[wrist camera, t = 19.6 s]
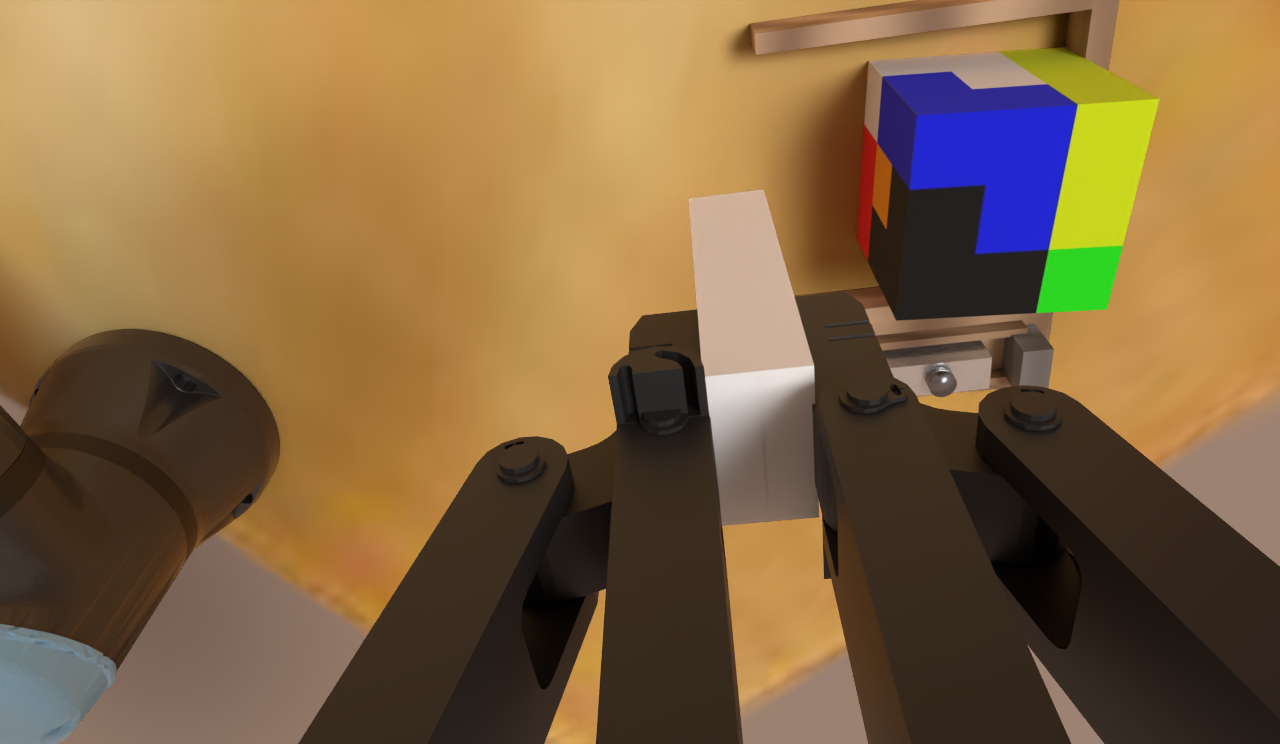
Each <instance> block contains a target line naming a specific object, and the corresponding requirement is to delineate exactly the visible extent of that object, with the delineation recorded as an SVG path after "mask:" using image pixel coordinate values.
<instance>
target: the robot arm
mask: <svg viewBox="0 0 1280 744" xmlns="http://www.w3.org/2000/svg"><path fill="white" fill-rule="evenodd" d="M689 210H690V223H691V236H692V248H693V261H694V274H695V287H696V299H697V310H689V311H680V312H671V313H662V314H653V315H644V316H642V317H641V318H640V319H639V321H638V322H637V323H636V325H635V326H634V327H633V328H632V330H631V331H630V340H629V355H626V356H624V357H623V358H621V359H620V360H619V361H618V362H617V363H616V364H614V365H613V366H612V368H611V371H610V373H609V375H608V379H609V384H610V390H611V395H612V400H613V406H614V411H615V416H616V422H617V430H616V431H615V432H614V433H613V434H612V435H611V436H610V437H608V438H606V439H605V440H603V441H602V442H600V443H598V444H596V445H593V446H591V447H588V448H586V449H583V450H580V451H576V452H573V453H570V454H567V453H566V451H565V449H564V447H563V446H562V445H560V444H559V443H557V442H556V441H554V440H553V439H548V438H543V437H538V436H536V437H522V438H517V439H514V440H511V441H508V442H504V443H502V444H500V445H498V446H497V447H495V448H493V449H492V450H490V451H488V452H487V453H486V454H485V455H484V456H483V457H482V458H481V459H480V460H479V461H478V463H477V464H476V465H475V467H474V469H473V470H472V472H471V473H470V475H469V476H468V478H467V480H466V481H465V483H464V484H463V486H462V487H461V489H460V491H459V492H458V494H457V495H456V497H455V498H454V500H453V502H452V503H451V505H450V506H449V508H448V509H447V511H446V513H445V514H444V516H443V517H442V519H441V520H440V522H439V524H438V525H437V527H436V528H435V530H434V531H433V533H432V535H431V536H430V538H429V539H428V541H427V542H426V544H425V546H424V547H423V549H422V550H421V552H420V553H419V555H418V557H417V558H416V560H415V561H414V563H413V564H412V566H411V568H410V569H409V571H408V572H407V574H406V575H405V577H404V579H403V580H402V582H401V583H400V585H399V586H398V588H397V590H396V591H395V593H394V594H393V596H392V597H391V599H390V601H389V602H388V604H387V605H386V607H385V608H384V610H383V612H382V613H381V615H380V616H379V618H378V619H377V621H376V623H375V624H374V626H373V627H372V629H371V630H370V632H369V634H368V635H367V637H366V638H365V640H364V642H363V643H362V645H361V646H360V648H359V649H358V651H357V652H356V654H355V656H354V657H353V659H352V660H351V662H350V663H349V665H348V667H347V668H346V670H345V671H344V673H343V674H342V676H341V677H340V679H339V681H338V682H337V684H336V686H335V687H334V689H333V691H332V692H331V693H330V695H329V696H328V698H327V699H326V701H325V703H324V704H323V706H322V708H321V709H320V710H319V712H318V714H317V715H316V717H315V718H314V720H313V721H312V723H311V725H310V726H309V728H308V729H307V731H306V733H305V734H304V736H303V737H302V739H301V740H300V742H299V744H544V743H545V740H546V737H547V735H548V732H549V730H550V727H551V724H552V722H553V719H554V716H555V714H556V711H557V709H558V706H559V703H560V701H561V698H562V695H563V693H564V690H565V687H566V685H567V682H568V680H569V677H570V674H571V672H572V669H573V666H574V664H575V661H576V659H577V656H578V653H579V651H580V648H581V645H582V643H583V640H584V638H585V635H586V632H587V630H588V627H589V624H590V622H591V619H592V616H593V614H594V611H595V609H596V606H597V602H598V595H599V591H600V590H603V589H606V600H605V615H604V630H603V646H602V661H601V676H600V691H599V706H598V722H597V737H596V744H743V738H742V728H741V717H740V706H739V696H738V685H737V675H736V664H735V653H734V643H733V632H732V622H731V611H730V600H729V590H728V579H727V569H726V558H725V548H724V539H723V530H722V526H724V525H735V524H747V523H758V522H770V521H781V520H792V519H804V518H815V517H819V504H818V498H819V503H820V507H821V511H822V522H823V556H824V579H830V578H831V579H832V584H833V588H834V592H835V597H836V601H837V606H838V610H839V615H840V619H841V624H842V628H843V632H844V637H845V641H846V646H847V650H848V655H849V659H850V663H851V668H852V672H853V677H854V681H855V685H856V690H857V695H858V699H859V704H860V708H861V712H862V717H863V721H864V726H865V730H866V735H867V739H868V744H1071V742H1070V740H1069V737H1068V735H1067V733H1066V731H1065V729H1064V726H1063V724H1062V722H1061V720H1060V717H1059V715H1058V713H1057V711H1056V708H1055V706H1054V704H1053V702H1052V700H1051V697H1050V695H1049V693H1048V690H1047V688H1046V686H1045V684H1044V681H1043V679H1042V677H1041V675H1040V673H1039V670H1038V668H1037V666H1036V663H1035V661H1034V659H1033V657H1032V654H1031V652H1030V650H1029V648H1028V645H1029V647H1030V648H1031V650H1032V651H1033V652H1034V653H1035V655H1036V656H1037V657H1038V658H1039V660H1040V661H1041V662H1042V664H1043V665H1044V666H1045V667H1046V669H1047V670H1048V671H1049V673H1050V674H1051V675H1052V677H1053V678H1054V679H1055V681H1056V682H1057V683H1058V684H1059V686H1060V687H1061V688H1062V690H1063V691H1064V692H1065V693H1066V695H1067V696H1068V697H1069V699H1070V700H1071V701H1072V702H1073V704H1074V705H1075V706H1076V708H1077V709H1078V710H1079V711H1080V713H1081V714H1082V715H1083V717H1084V718H1085V719H1086V720H1087V722H1088V723H1089V724H1090V726H1091V727H1092V728H1093V729H1094V731H1095V732H1096V733H1097V735H1098V736H1099V737H1100V738H1101V740H1102V741H1103V742H1104V744H1280V566H1278V565H1277V564H1276V563H1275V562H1273V561H1272V560H1271V559H1269V557H1267V556H1266V555H1265V554H1264V553H1262V552H1261V551H1260V550H1259V549H1258V548H1256V547H1255V546H1254V545H1253V544H1251V543H1250V542H1249V541H1248V540H1247V539H1245V538H1244V537H1243V536H1242V535H1240V534H1239V533H1238V532H1237V531H1236V530H1234V529H1233V528H1232V527H1231V526H1229V525H1228V524H1227V523H1226V522H1225V521H1223V520H1222V519H1221V518H1220V517H1218V516H1217V515H1216V514H1215V513H1214V512H1212V511H1211V510H1210V509H1209V508H1207V507H1206V506H1205V505H1204V504H1202V503H1201V502H1200V501H1199V500H1198V499H1197V498H1195V497H1194V496H1193V495H1192V494H1190V493H1189V492H1188V491H1187V490H1185V489H1184V488H1183V487H1182V486H1181V485H1179V484H1178V483H1177V482H1176V481H1175V480H1173V479H1172V478H1171V477H1170V476H1168V475H1167V474H1166V473H1165V472H1164V471H1162V470H1161V469H1160V468H1159V467H1157V466H1156V465H1155V464H1154V463H1153V462H1151V461H1150V460H1149V459H1148V458H1147V457H1145V456H1144V455H1143V454H1142V453H1140V452H1139V451H1138V450H1137V449H1136V448H1134V447H1133V446H1132V445H1131V444H1129V443H1128V442H1127V441H1126V440H1125V439H1123V438H1122V437H1121V436H1120V435H1118V434H1117V433H1116V432H1115V431H1114V430H1112V429H1111V428H1110V427H1109V426H1107V425H1106V424H1105V423H1104V422H1103V421H1101V420H1100V419H1099V418H1098V417H1096V416H1095V415H1094V414H1093V413H1092V412H1090V411H1089V410H1088V409H1087V408H1085V407H1084V406H1083V405H1082V404H1081V403H1079V402H1078V401H1076V400H1075V399H1073V398H1071V397H1069V396H1068V395H1066V394H1064V393H1062V392H1059V391H1055V390H1052V389H1048V388H1045V387H1038V386H1026V385H1020V386H1012V387H1004V388H1001V389H999V390H996V391H994V392H991V393H989V394H988V395H987V396H986V397H985V398H984V399H983V400H982V401H981V402H980V403H979V413H969V412H959V411H950V410H944V409H938V408H933V407H930V406H927V405H924V404H921V403H919V401H918V399H917V396H916V394H915V393H914V392H913V391H912V389H911V388H910V387H909V386H908V385H907V384H906V383H904V382H902V381H900V380H898V379H896V378H894V377H893V374H892V372H891V370H890V367H889V365H888V362H887V360H886V358H885V355H884V353H883V351H882V348H881V346H880V344H879V341H878V339H877V337H875V332H874V330H873V327H872V325H871V323H870V321H869V318H868V315H867V313H866V311H865V308H864V306H863V304H862V303H861V302H859V301H858V300H856V299H855V298H853V297H852V296H851V295H849V294H848V293H846V292H845V291H841V292H832V293H823V294H814V295H805V296H796V297H794V294H793V290H792V287H791V283H790V280H789V276H788V273H787V269H786V266H785V262H784V259H783V255H782V252H781V248H780V245H779V241H778V238H777V234H776V231H775V227H774V224H773V220H772V217H771V213H770V210H769V207H768V203H767V200H766V196H765V193H764V189H763V190H755V191H747V192H738V193H730V194H722V195H714V196H706V197H698V198H689ZM279 451H280V442H279V434H278V430H277V426H276V423H275V420H274V418H273V415H272V413H271V411H270V409H269V407H268V406H267V404H266V402H265V401H264V399H263V398H262V396H261V395H260V394H259V392H258V391H257V390H256V389H255V387H254V386H253V385H252V384H251V383H250V382H249V381H248V380H247V379H246V378H245V377H244V376H243V375H242V374H241V373H240V372H239V371H237V370H236V369H235V368H234V367H233V366H231V365H230V364H229V363H227V362H226V361H224V360H223V359H221V358H220V357H218V356H217V355H215V354H213V353H212V352H210V351H208V350H206V349H204V348H202V347H200V346H198V345H196V344H194V343H191V342H189V341H186V340H183V339H181V338H178V337H174V336H171V335H167V334H163V333H159V332H153V331H145V330H114V331H108V332H103V333H99V334H96V335H93V336H90V337H88V338H86V339H84V340H82V341H80V342H78V343H77V344H75V345H74V346H72V347H71V348H70V349H69V350H67V351H66V352H65V353H64V354H63V355H62V356H61V357H60V358H58V359H57V360H56V361H55V362H54V363H53V364H52V365H51V366H50V367H49V368H48V369H47V370H46V371H45V372H44V374H43V375H42V376H41V378H40V379H39V381H38V383H37V384H36V387H35V389H34V391H33V395H32V397H31V400H30V405H29V409H28V411H27V413H26V415H25V417H24V419H23V421H22V424H21V426H19V425H18V424H17V423H16V422H15V421H14V420H13V418H12V417H11V416H10V415H9V414H8V413H7V412H6V411H5V410H4V409H3V408H2V407H1V405H0V744H60V743H61V742H62V741H64V740H65V739H66V738H67V737H68V736H69V735H70V734H71V733H72V732H73V731H74V730H75V729H76V727H77V726H78V725H79V723H80V722H81V721H82V719H83V718H84V717H85V716H86V714H87V713H88V712H89V710H90V709H91V708H92V706H93V705H94V704H95V703H96V701H97V700H98V699H99V697H100V696H101V694H102V693H103V692H104V691H105V690H106V689H108V688H109V687H110V685H111V684H112V683H113V682H114V680H115V678H116V674H117V672H118V671H117V670H118V668H119V667H120V665H121V664H122V662H123V661H124V659H125V657H126V656H127V654H128V653H129V651H130V649H131V648H132V646H133V645H134V643H135V641H136V640H137V638H138V636H139V635H140V634H141V632H142V630H143V629H144V627H145V626H146V624H147V622H148V621H149V619H150V618H151V616H152V615H153V613H154V611H155V610H156V608H157V607H158V605H159V603H160V602H161V600H162V599H163V597H164V596H165V594H166V592H167V591H168V589H169V588H170V586H171V584H172V583H173V581H174V580H175V578H176V577H177V575H178V573H179V572H180V570H181V569H182V567H183V565H184V563H185V562H186V560H187V559H188V557H189V556H190V555H191V553H192V551H193V550H194V549H195V548H197V547H198V546H199V545H201V544H202V543H203V542H205V541H206V540H207V539H209V538H210V537H211V536H213V535H214V534H216V533H217V532H218V531H220V530H221V529H222V528H224V527H225V526H227V525H228V524H229V523H231V522H232V521H233V520H234V519H236V518H237V517H239V516H240V515H241V514H243V513H244V512H245V511H247V510H248V509H249V508H250V507H251V506H252V505H253V504H254V503H255V501H256V500H257V499H258V498H259V496H260V495H261V493H262V492H263V490H264V488H265V487H266V485H267V483H268V482H269V480H270V478H271V477H272V475H273V473H274V471H275V469H276V466H277V463H278V459H279ZM1027 644H1028V645H1027Z"/></svg>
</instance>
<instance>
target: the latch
mask: <svg viewBox="0 0 1280 744" xmlns="http://www.w3.org/2000/svg"><path fill="white" fill-rule="evenodd" d="M882 351H883V353H884V355H885V358H886V360H887V362H888V365H889V367H890V370H891V372H892V374H893V377H894V378H896V379H898V380H900V381H902V382H904V383H906V384H907V385H908V386H909V387H910V388H911V389H912V391H913V392H914V393H915V394H916V396H917V395H928V394H933V395H935V396H938V397H944V396H948V395H950V394H951V393H952V392H958V391H968V390H978V389H988V388H989V384H990V374H991V364H992V357H991V355H990V353H989V352H988V350H987V349H986V347H985V345H984V344H983V342H982V341H981V340H978V341H968V342H959V343H949V344H940V345H930V346H920V347H911V348H901V349H892V350H882Z"/></svg>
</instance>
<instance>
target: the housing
mask: <svg viewBox="0 0 1280 744" xmlns="http://www.w3.org/2000/svg"><path fill="white" fill-rule="evenodd" d="M1118 5H1119V0H917V1H909V2H902V3H895V4H888V5H881V6H874V7H866V8H859V9H852V10H845V11H838V12H831V13H824V14H816V15H809V16H802V17H795V18H788V19H781V20H774V21H766V22H759V23H752V24H750V32H751V45H752V47H753V49H754V52H755V54H756V55H760V54H767V53H774V52H782V51H789V50H796V49H804V48H811V47H818V46H826V45H833V44H840V43H848V42H855V41H862V40H870V39H877V38H884V37H892V36H899V35H906V34H914V33H921V32H928V31H936V30H943V29H950V28H958V27H965V26H972V25H980V24H987V23H994V22H1001V21H1009V20H1016V19H1023V18H1031V17H1038V16H1045V15H1053V14H1060V13H1067V12H1069V20H1068V28H1067V36H1066V44H1065V48H1067V49H1069V50H1071V51H1073V52H1075V53H1076V54H1078V55H1080V56H1082V57H1084V58H1086V59H1087V60H1089V61H1091V62H1093V63H1095V64H1097V65H1098V66H1100V67H1102V68H1104V69H1106V70H1109V64H1110V57H1111V51H1112V44H1113V38H1114V31H1115V25H1116V18H1117V11H1118ZM836 292H841V291H836ZM845 292H846V293H848V294H849V295H851V296H852V297H853V298H855V299H856V300H858V301H859V302H861V303H862V304H863V306H864V308H865V311H866V313H867V315H868V318H869V321H870V323H871V325H872V327H873V330H874V332H875V337H877V339H878V341H879V344H880V346H881V348H882V350H892V349H901V348H911V347H920V346H930V345H940V344H949V343H959V342H968V341H978V340H981V341H982V342H983V344H984V345H985V347H986V349H987V350H988V352H989V353H990V355H991V357H992V364H991V374H990V384H989V388H988V389H978V390H968V391H958V392H952V393H961V392H971V391H981V390H991V389H1001V388H1004V387H1012V386H1020V385H1026V386H1038V387H1045V388H1048V386H1049V379H1050V372H1051V365H1052V358H1053V351H1054V349H1053V347H1052V346H1051V345H1050V343H1049V337H1050V330H1051V323H1052V316H1053V312H1048V313H1029V314H1010V315H992V316H973V317H955V318H936V319H918V320H899V321H896V319H895V317H894V315H893V313H892V311H891V309H890V307H889V305H888V303H887V301H886V299H885V296H884V294H883V292H882V290H881V288H880V287H872V288H863V289H854V290H845ZM827 293H832V292H827ZM818 294H823V293H818ZM809 295H814V294H809ZM800 296H805V295H800ZM794 297H796V296H794ZM930 395H933V394H928V395H917V397H920V396H930Z"/></svg>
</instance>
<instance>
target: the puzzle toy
mask: <svg viewBox="0 0 1280 744" xmlns="http://www.w3.org/2000/svg"><path fill="white" fill-rule="evenodd" d="M1158 103H1159V98H1157V97H1155V96H1153V95H1151V94H1150V93H1148V92H1146V91H1144V90H1142V89H1140V88H1139V87H1137V86H1135V85H1133V84H1131V83H1129V82H1128V81H1126V80H1124V79H1122V78H1120V77H1118V76H1117V75H1115V74H1113V73H1111V72H1109V71H1108V70H1106V69H1104V68H1102V67H1100V66H1098V65H1097V64H1095V63H1093V62H1091V61H1089V60H1087V59H1086V58H1084V57H1082V56H1080V55H1078V54H1076V53H1075V52H1073V51H1071V50H1069V49H1067V48H1065V47H1057V48H1043V49H1029V50H1015V51H1001V52H987V53H973V54H959V55H944V56H930V57H916V58H902V59H888V60H874V61H869V62H868V76H867V91H866V106H865V120H864V135H863V150H862V164H861V179H860V194H859V208H858V223H857V240H858V242H859V244H860V246H861V248H862V250H863V252H864V255H865V257H866V259H867V261H868V263H869V265H870V267H871V269H872V271H873V273H874V276H875V278H876V280H877V282H878V284H879V286H880V288H881V290H882V292H883V294H884V296H885V299H886V301H887V303H888V305H889V307H890V309H891V311H892V313H893V315H894V317H895V319H896V321H899V320H918V319H936V318H955V317H973V316H992V315H1010V314H1029V313H1048V312H1066V311H1085V310H1103V309H1107V306H1108V302H1109V298H1110V294H1111V290H1112V286H1113V282H1114V278H1115V274H1116V270H1117V266H1118V262H1119V258H1120V254H1121V250H1122V246H1123V242H1124V239H1125V235H1126V231H1127V227H1128V223H1129V219H1130V215H1131V211H1132V207H1133V203H1134V199H1135V195H1136V191H1137V187H1138V183H1139V179H1140V175H1141V171H1142V167H1143V163H1144V159H1145V155H1146V151H1147V147H1148V143H1149V139H1150V135H1151V131H1152V127H1153V123H1154V119H1155V115H1156V111H1157V107H1158Z"/></svg>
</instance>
